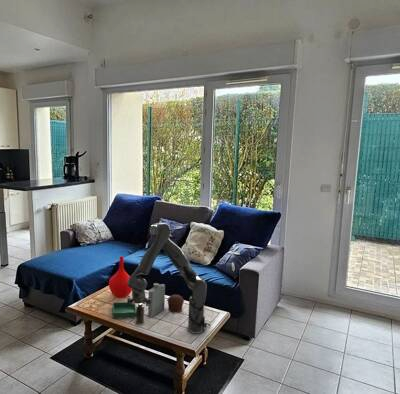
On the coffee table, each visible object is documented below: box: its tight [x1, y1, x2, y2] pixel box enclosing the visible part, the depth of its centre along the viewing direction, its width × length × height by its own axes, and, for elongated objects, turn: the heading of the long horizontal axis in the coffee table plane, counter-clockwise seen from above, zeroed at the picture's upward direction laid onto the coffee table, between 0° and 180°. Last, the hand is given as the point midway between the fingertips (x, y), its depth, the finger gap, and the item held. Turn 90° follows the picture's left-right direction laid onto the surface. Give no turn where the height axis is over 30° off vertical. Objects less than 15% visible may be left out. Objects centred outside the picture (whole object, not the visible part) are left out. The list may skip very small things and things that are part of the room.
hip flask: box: [147, 282, 166, 318], centre depth 229 cm, size 16×4×20 cm, turn 142°
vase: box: [108, 255, 132, 299], centre depth 253 cm, size 18×18×30 cm
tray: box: [112, 301, 137, 319], centre depth 229 cm, size 15×15×4 cm
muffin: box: [166, 294, 185, 313], centre depth 234 cm, size 12×11×10 cm
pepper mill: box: [135, 303, 145, 325], centre depth 216 cm, size 5×5×12 cm
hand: (139, 304), depth 209 cm, fingers open, 8 cm apart
